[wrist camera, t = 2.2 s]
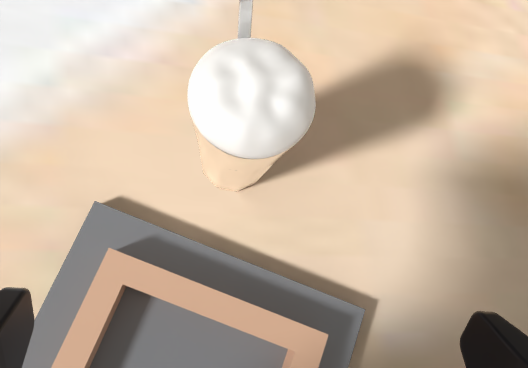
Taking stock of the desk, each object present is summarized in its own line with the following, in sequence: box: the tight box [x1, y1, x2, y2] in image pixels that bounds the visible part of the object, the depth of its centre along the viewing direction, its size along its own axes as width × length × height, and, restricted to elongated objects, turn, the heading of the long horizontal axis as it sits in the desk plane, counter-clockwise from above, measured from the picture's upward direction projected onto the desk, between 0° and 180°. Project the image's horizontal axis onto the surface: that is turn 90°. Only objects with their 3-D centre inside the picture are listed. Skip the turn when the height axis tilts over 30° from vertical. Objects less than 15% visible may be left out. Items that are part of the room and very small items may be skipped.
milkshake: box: [188, 0, 316, 192], centre depth 19 cm, size 4×5×10 cm
